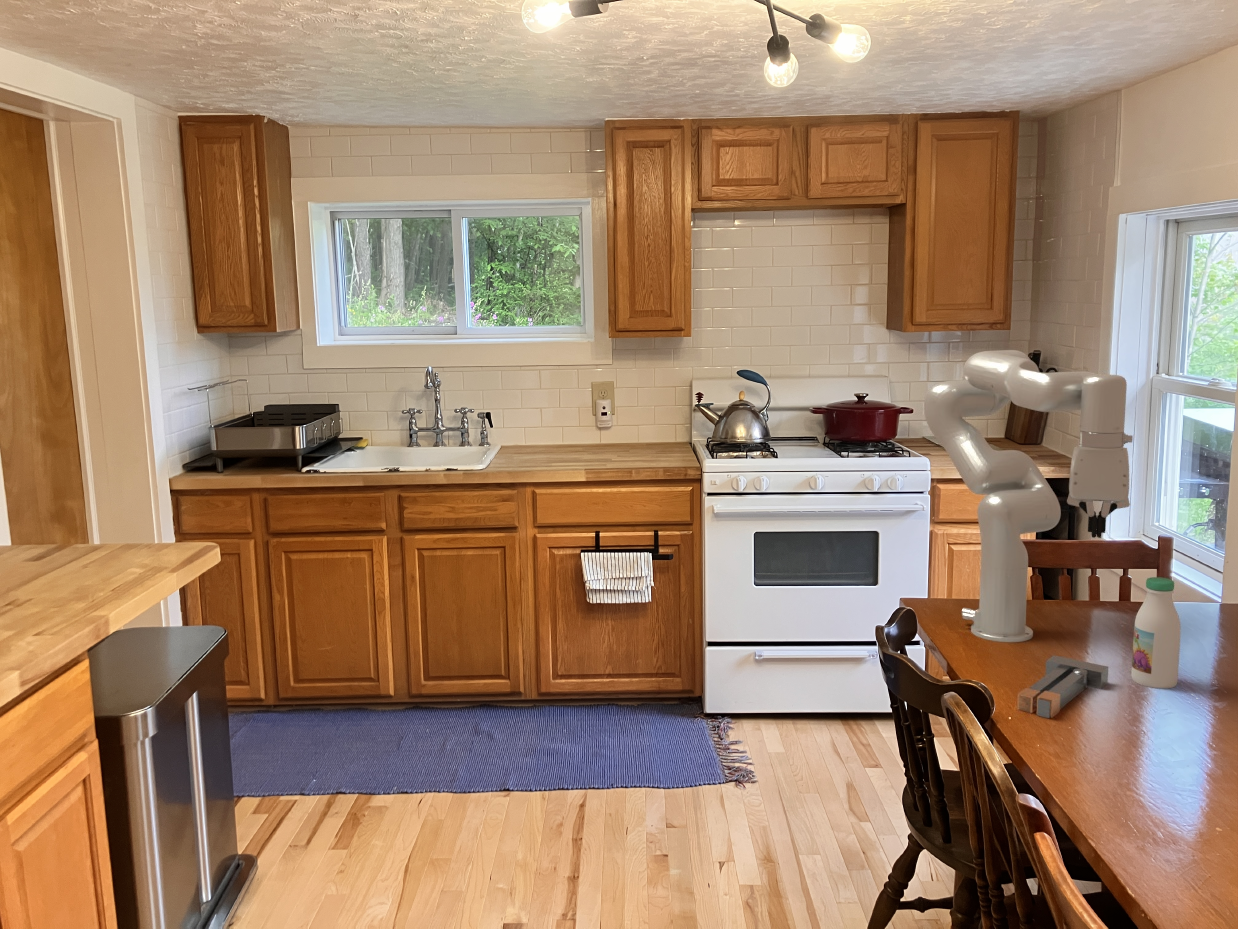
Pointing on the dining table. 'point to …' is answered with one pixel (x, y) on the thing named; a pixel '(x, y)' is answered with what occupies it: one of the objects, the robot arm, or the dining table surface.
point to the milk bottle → (1156, 637)
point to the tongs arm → (1061, 693)
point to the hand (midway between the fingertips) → (1096, 536)
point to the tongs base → (1060, 679)
